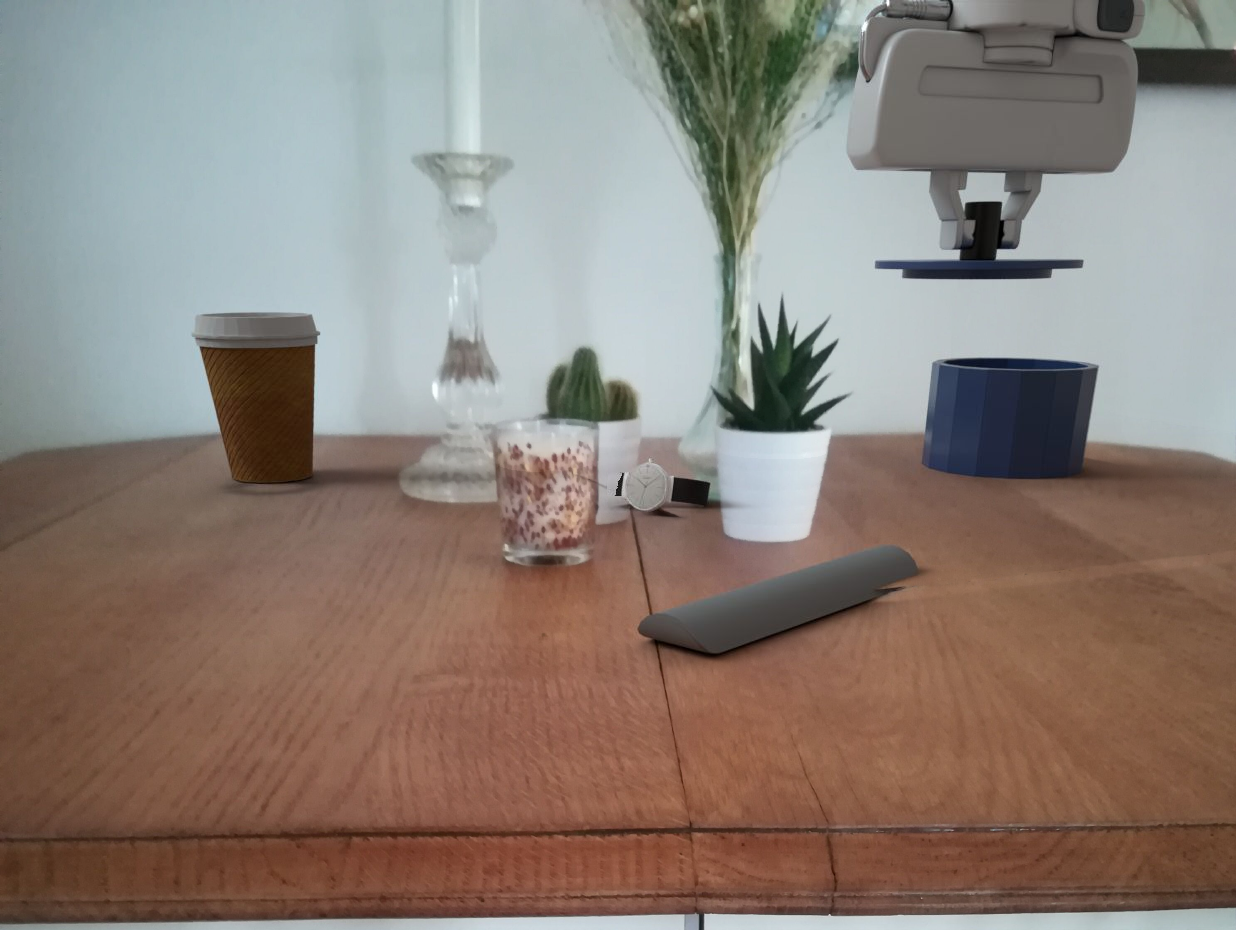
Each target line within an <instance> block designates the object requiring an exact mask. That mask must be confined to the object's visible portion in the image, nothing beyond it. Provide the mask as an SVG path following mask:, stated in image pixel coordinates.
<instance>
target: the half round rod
mask: <svg viewBox="0 0 1236 930" xmlns="http://www.w3.org/2000/svg"><path fill="white" fill-rule="evenodd" d="M918 574H919V569H918V565H917V564H916V561H915V559H914V558H913V556H911V554H910V553H909V552H908V551H906V550H905V549H903V548H902V547H900V546H897V545H894V544H880V545H877V546H873V547H870V548H867V549H864V550H860V551H857V552H853V553H851V554H847V555H844V556H841V557H837V558H834V559H831V560H827V561H823V562H820V563H818V564H814V565H810V566H808V567H804V568H800V569H798V570H794V571H791V572H787V573H784V574H781V575H778V576H775V577H770V578H767V579H765V580H761V581H759V582H755V583H751V584H747V585H745V586H741V587H739V588H735V589H732V590H729V591H725V592H722V593H718V594H715V595H712V596H709V597H705V598H701V599H698V600H696V601H692V602H689V603H686V604H682V605H679V606H675V607H673V608H669V609H666V610H663V611H659V612H655V613H652V614H649V615H647V616H646V617H644V618H643V619H642V620H641V621H640V622H639V625H638V627H637V631H638V634H639V635H641V636H642V637H644V638H648V639H652V640H656V641H660V642H664V643H667V644H672V645H676V646H679V647H682V648H683V647H684V648H688V649H691V650H694V651H699V652H703V653H707V654H720V653H724V652H726V651H729V650H732V649H735V648H737V647H740V646H743V645H746V644H748V643H751V642H754V641H757V640H760V639H762V638H765V637H769V636H771V635H774V634H776V633H777V634H778V633H780V632H783V631H785V630H788V629H791V628H793V627H796V626H800V625H802V624H805V623H807V622H810V621H813V620H815V619H819V618H821V617H824V616H827V615H830V614H833V613H836V612H838V611H842V610H843V609H847V608H850V607H852V606H856V605H858V604H861V603H863V602H866V601H869V600H872V599H875V598H877V597H880V596H883V595H887V594H889V593H892V592H895V591H897V590H900V589H902V588H905V587H906V586H907V585H906V586H896V587H886V588H883V587H885V586H888V585H891V584H893V583H896V582H900V581H902V580H904V579H908V578H911V577H914V576H916V575H918Z"/></svg>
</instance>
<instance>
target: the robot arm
mask: <svg viewBox="0 0 1236 930" xmlns="http://www.w3.org/2000/svg"><path fill="white" fill-rule="evenodd" d="M878 14H881V15H882V16H877V15H878ZM1145 17H1146V5H1145V2H1144V1H1143V0H883V1H882V3H879V4H878V5H876V6H875V7H873V8H872V9H871V10H870V11H869V12H868V14H867V15H866V16H865V19H864V20H863V21H862V23H861V27H860V32H859V41H858V56H857V57H858V70H857V74H856V79H855V84H854V89H853V93H852V99H851V106H850V111H849V118H848V126H847V133H846V142H845V143H846V145H845V146H846V147H845V151H846V154H847V157H848V158H849V161H850V163H851V164H852V167H853V168H854V169H855V170H856V171H876V172H879V171H881V172H922V173H923V172H924V173H927V172H928V173H929V172H930V176H929V185H928V186H929V188H928V189H929V190H928V194H929V196H930V199H931V200H932V203H933V206H934V208H935V211H936V214H937V217H938V219H939V221H940V230H939V231H940V232H939V243H938V244H939V248H940V249H941V250H942V251H943V250H944V251H960V250H966V249H970V248H971V247H972V245H973V241H974V238H973V233H974V231H975V223H976V220H965V219H966V217H965V213H964V206H963V203H962V199H961V195H960V192H959V191H965V190H966V189H967V183H968V175H969V173H977V174H978V173H979V174H981V173H982V174H1004V183H1003V185H1004V186H1003V192H1004V193H1009V195H1008V197H1007V199H1006V201H1005V204H1004V205H1003V206H1002V211H1001V220H1000V229H999V237H998V246H997V250H1017V248H1018V247H1019V245H1020V243H1021V242H1020V241H1021V234H1022V225H1023V221H1024V220H1025V218H1027V215H1028V213H1029V212H1030V210H1031V209H1032V207H1033V205H1034V203H1036V202H1035V201H1036V200H1037V198H1038V197H1039V195H1040V193H1041V190H1042V183H1043V175H1071V176H1073V175H1074V176H1077V175H1078V176H1079V175H1080V176H1082V175H1083V176H1084V175H1100V174H1110V173H1113V172H1114V171H1115V170H1117V168H1118V167H1120V164H1121V163H1122V161H1123V160H1124V158H1125V157H1126V155H1127V153H1128V151H1129V146H1130V142H1131V138H1132V137H1131V136H1132V130H1133V125H1134V117H1135V110H1136V101H1137V90H1138V80H1139V66H1138V59H1137V55H1136V52H1135V50H1134V48H1133V47H1132V46H1131V45H1130V44H1129V43H1127V41H1128V40H1132V39H1135V38H1137V37H1138V36H1139V35H1141V33H1142V31H1143V27H1144V24H1145V23H1144V22H1145Z"/></svg>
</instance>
